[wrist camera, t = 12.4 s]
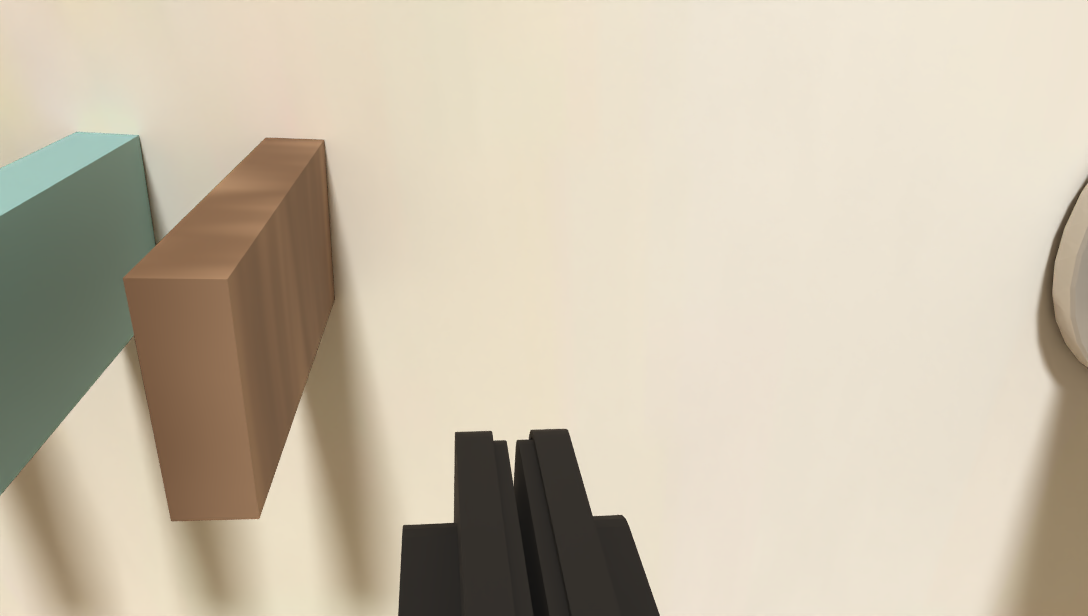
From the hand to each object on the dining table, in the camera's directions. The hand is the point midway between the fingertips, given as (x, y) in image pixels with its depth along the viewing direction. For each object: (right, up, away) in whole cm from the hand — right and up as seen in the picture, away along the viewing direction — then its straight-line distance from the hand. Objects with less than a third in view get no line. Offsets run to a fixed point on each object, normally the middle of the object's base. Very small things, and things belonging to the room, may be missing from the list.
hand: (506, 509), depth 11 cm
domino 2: (-7, +6, +11) cm, 14 cm away
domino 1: (-12, +6, +10) cm, 16 cm away
